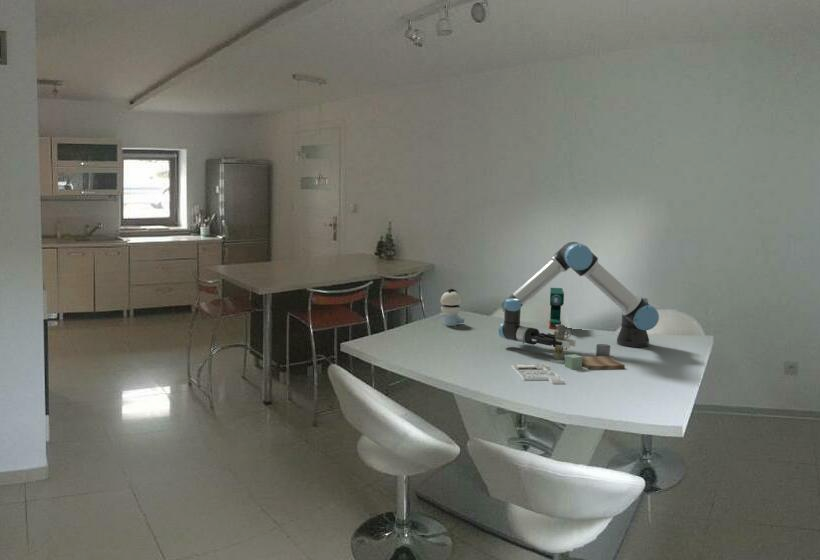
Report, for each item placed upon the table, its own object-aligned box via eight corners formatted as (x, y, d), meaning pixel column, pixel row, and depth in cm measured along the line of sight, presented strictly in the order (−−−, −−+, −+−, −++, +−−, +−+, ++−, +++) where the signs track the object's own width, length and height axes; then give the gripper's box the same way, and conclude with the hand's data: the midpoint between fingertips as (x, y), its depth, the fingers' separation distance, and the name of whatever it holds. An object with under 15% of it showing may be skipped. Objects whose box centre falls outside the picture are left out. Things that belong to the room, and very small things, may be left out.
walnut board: (608, 359, 303) (608, 355, 303) (624, 368, 288) (624, 365, 287) (574, 360, 301) (574, 356, 301) (588, 369, 285) (588, 366, 285)
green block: (574, 365, 292) (575, 354, 291) (581, 368, 287) (582, 356, 287) (564, 366, 290) (565, 355, 289) (572, 369, 285) (572, 357, 285)
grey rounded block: (606, 354, 313) (606, 343, 312) (611, 357, 307) (612, 346, 306) (593, 354, 312) (594, 344, 311) (599, 357, 306) (599, 347, 305)
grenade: (551, 356, 307) (552, 323, 305) (565, 356, 307) (567, 323, 305) (555, 360, 300) (557, 327, 298) (570, 360, 300) (572, 327, 298)
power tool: (562, 334, 354) (564, 296, 351) (548, 333, 355) (550, 296, 353) (561, 323, 385) (563, 288, 382) (549, 322, 386) (550, 287, 384)
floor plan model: (546, 367, 289) (547, 363, 289) (565, 384, 264) (565, 380, 264) (511, 368, 288) (511, 364, 287) (527, 385, 263) (527, 380, 263)
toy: (469, 325, 375) (470, 289, 373) (454, 328, 366) (455, 291, 364) (447, 320, 386) (448, 286, 384) (432, 323, 377) (433, 288, 374)
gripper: (538, 340, 322) (582, 349, 305) (517, 346, 310) (560, 355, 293) (539, 325, 321) (583, 333, 304) (517, 329, 309) (561, 338, 292)
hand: (572, 344), depth 299 cm, fingers closed on grenade, 4 cm apart
